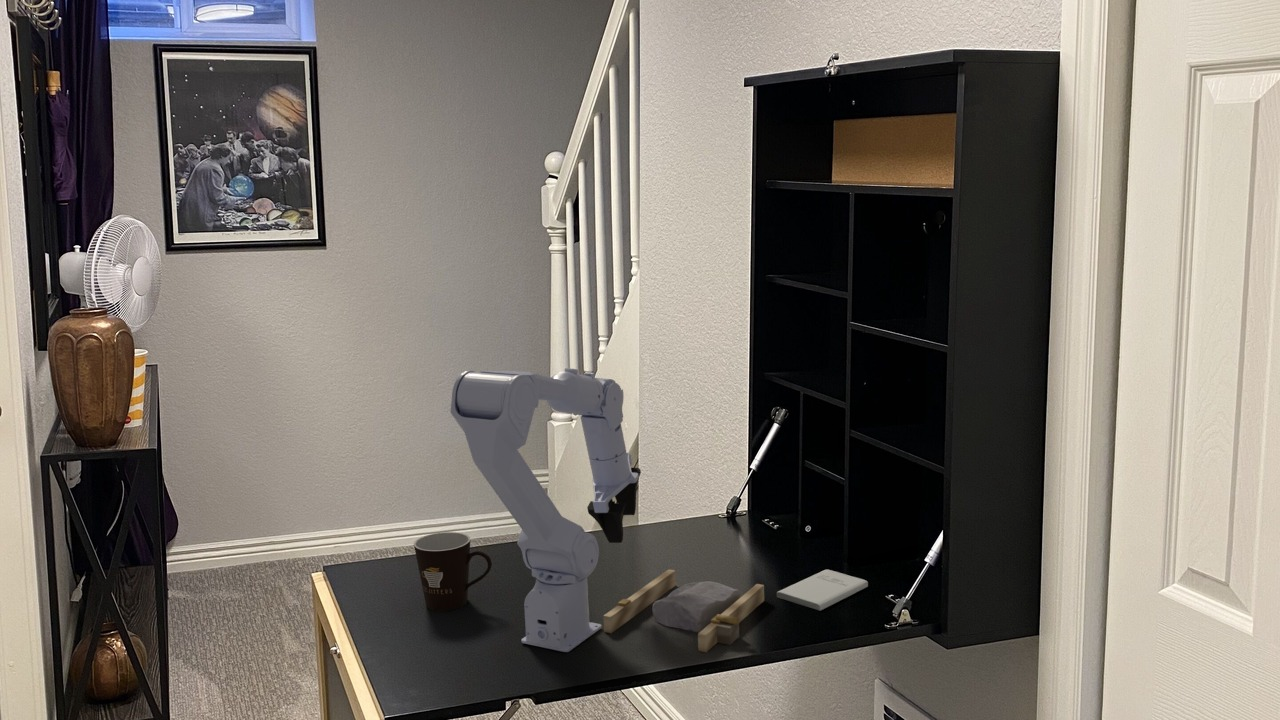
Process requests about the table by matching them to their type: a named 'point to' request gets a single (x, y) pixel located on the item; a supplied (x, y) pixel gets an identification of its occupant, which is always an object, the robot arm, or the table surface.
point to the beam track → (716, 632)
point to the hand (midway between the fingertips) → (622, 527)
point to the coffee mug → (446, 569)
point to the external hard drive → (822, 589)
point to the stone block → (694, 605)
